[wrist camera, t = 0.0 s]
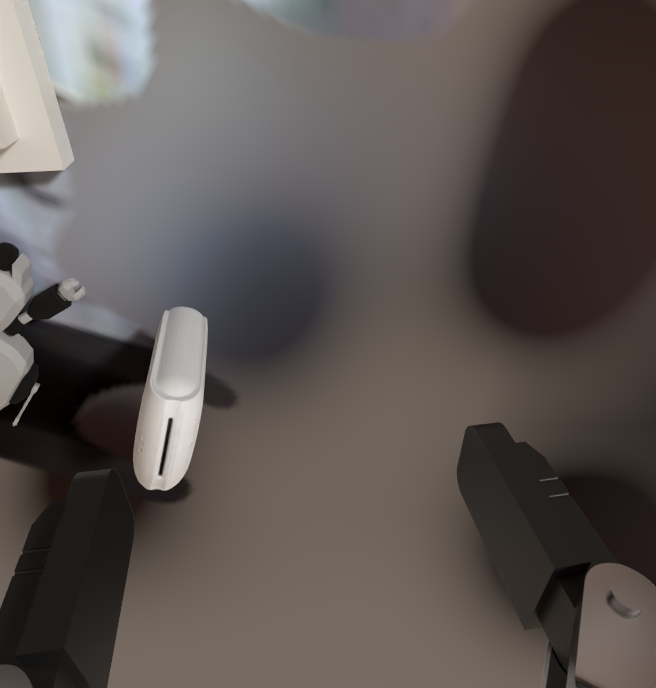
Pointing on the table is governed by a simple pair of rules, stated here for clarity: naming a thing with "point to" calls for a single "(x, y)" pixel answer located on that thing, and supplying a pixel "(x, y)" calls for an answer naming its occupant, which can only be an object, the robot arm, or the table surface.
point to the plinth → (27, 98)
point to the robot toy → (24, 323)
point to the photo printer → (171, 400)
